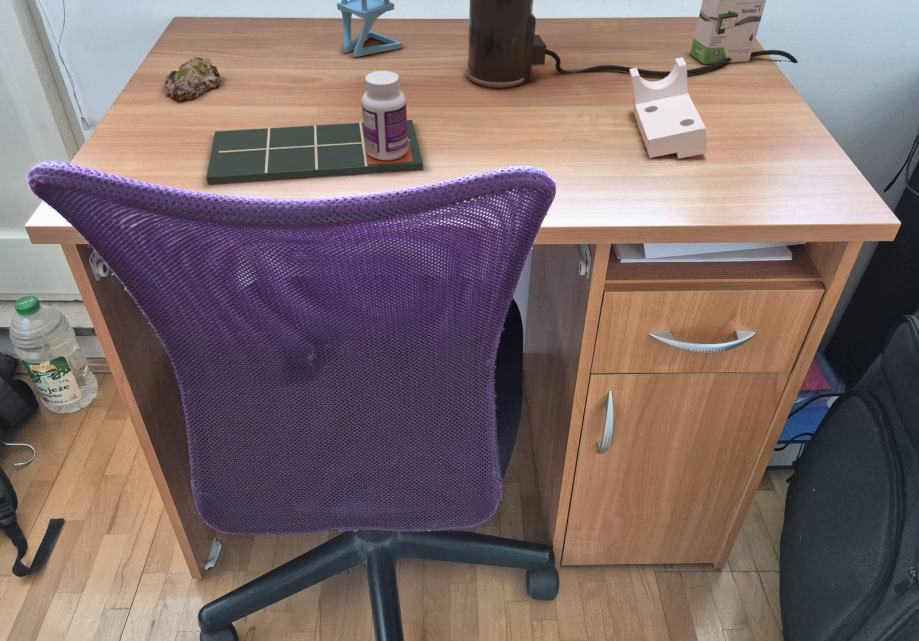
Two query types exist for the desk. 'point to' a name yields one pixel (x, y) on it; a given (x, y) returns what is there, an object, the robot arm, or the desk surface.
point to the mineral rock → (192, 79)
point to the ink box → (726, 30)
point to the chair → (365, 25)
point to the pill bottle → (384, 116)
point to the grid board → (301, 153)
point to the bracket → (667, 114)
